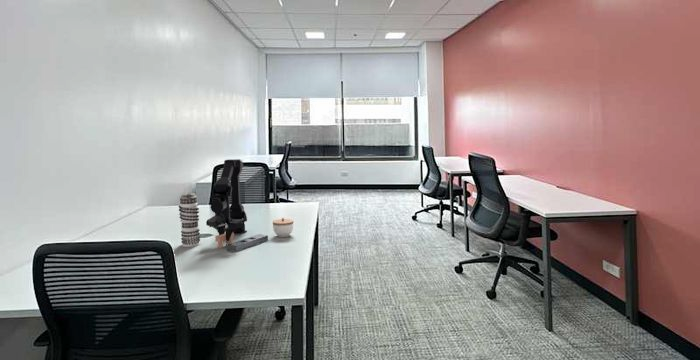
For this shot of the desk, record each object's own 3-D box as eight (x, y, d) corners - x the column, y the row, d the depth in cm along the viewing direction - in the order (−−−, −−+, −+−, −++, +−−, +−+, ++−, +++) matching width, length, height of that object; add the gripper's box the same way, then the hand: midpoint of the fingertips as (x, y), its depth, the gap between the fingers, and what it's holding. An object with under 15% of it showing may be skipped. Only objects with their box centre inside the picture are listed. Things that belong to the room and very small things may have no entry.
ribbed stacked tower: (180, 243, 210) (177, 193, 207) (200, 240, 214) (197, 191, 210) (181, 247, 202) (177, 195, 199) (201, 245, 205) (198, 194, 202)
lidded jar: (284, 239, 215) (284, 221, 214) (268, 236, 220) (268, 218, 219) (297, 234, 224) (297, 217, 223) (282, 232, 229) (281, 215, 228)
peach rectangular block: (215, 247, 201) (215, 236, 201) (230, 242, 209) (229, 232, 208) (220, 248, 200) (219, 236, 199) (234, 243, 207) (233, 232, 207)
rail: (226, 249, 197) (226, 244, 197) (258, 238, 216) (258, 234, 216) (236, 251, 194) (235, 246, 194) (268, 240, 213) (267, 235, 213)
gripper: (196, 210, 200) (198, 242, 202) (225, 213, 191) (226, 247, 193) (214, 206, 209) (216, 237, 211) (242, 209, 200) (244, 241, 202)
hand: (225, 240), depth 204 cm, fingers closed on peach rectangular block, 3 cm apart
